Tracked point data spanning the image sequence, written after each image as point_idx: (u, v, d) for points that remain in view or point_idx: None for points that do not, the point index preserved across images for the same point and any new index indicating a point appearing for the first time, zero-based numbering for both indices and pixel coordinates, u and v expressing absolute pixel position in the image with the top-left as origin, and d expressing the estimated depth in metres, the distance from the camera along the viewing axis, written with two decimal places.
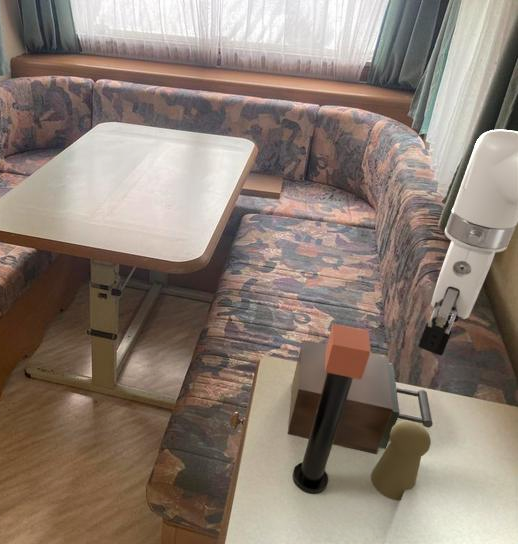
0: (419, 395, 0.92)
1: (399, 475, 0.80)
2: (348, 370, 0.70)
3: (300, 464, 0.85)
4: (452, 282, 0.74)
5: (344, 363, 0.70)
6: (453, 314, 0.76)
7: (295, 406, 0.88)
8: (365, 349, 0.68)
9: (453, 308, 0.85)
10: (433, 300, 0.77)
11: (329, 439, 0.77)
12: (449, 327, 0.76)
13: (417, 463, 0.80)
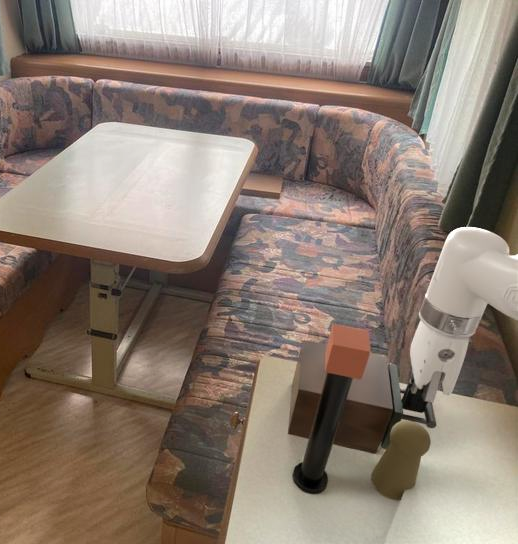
0: None
1: (399, 475, 0.80)
2: (348, 370, 0.70)
3: (300, 464, 0.85)
4: (438, 367, 0.80)
5: (344, 363, 0.70)
6: None
7: (295, 406, 0.88)
8: (365, 349, 0.68)
9: None
10: (420, 383, 0.82)
11: (329, 439, 0.77)
12: None
13: (417, 463, 0.80)
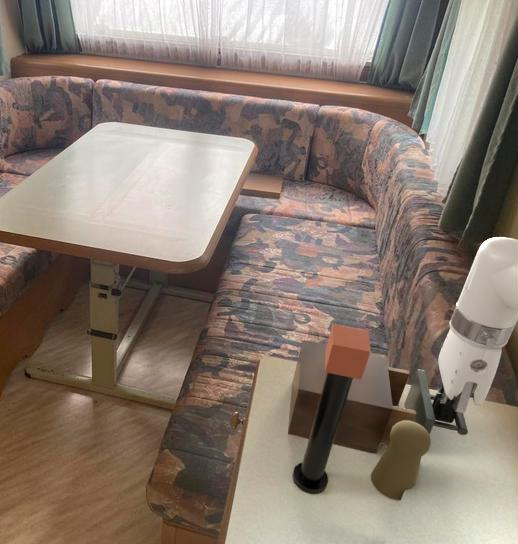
0: None
1: (399, 475, 0.80)
2: (348, 370, 0.70)
3: (300, 464, 0.85)
4: (470, 378, 0.79)
5: (344, 363, 0.70)
6: None
7: (295, 406, 0.88)
8: (365, 349, 0.68)
9: None
10: (451, 393, 0.82)
11: (329, 439, 0.77)
12: None
13: (417, 463, 0.80)
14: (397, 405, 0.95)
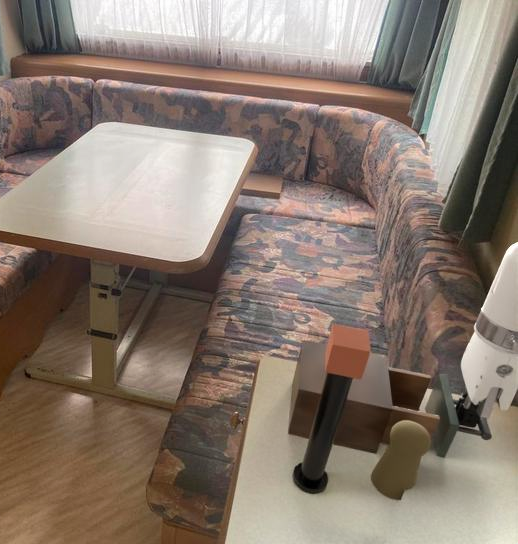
0: None
1: (399, 475, 0.80)
2: (348, 370, 0.70)
3: (300, 464, 0.85)
4: (496, 383, 0.79)
5: (344, 363, 0.70)
6: None
7: (295, 406, 0.88)
8: (365, 349, 0.68)
9: None
10: (476, 399, 0.81)
11: (329, 439, 0.77)
12: None
13: (417, 463, 0.80)
14: (418, 409, 0.95)
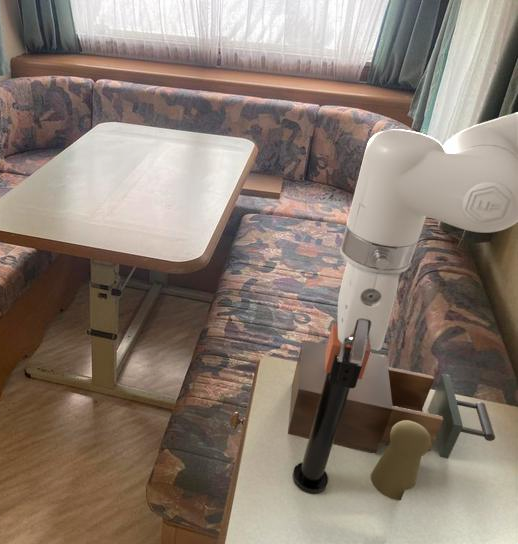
0: (478, 407, 0.90)
1: (399, 475, 0.80)
2: None
3: (300, 464, 0.85)
4: (362, 314, 0.63)
5: None
6: None
7: (295, 406, 0.88)
8: None
9: None
10: (342, 335, 0.65)
11: (329, 439, 0.77)
12: None
13: (417, 463, 0.80)
14: (421, 410, 0.95)
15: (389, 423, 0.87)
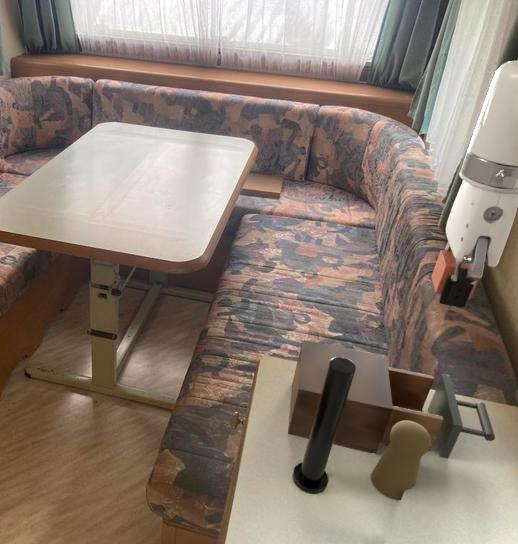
0: (478, 407, 0.90)
1: (399, 475, 0.80)
2: None
3: (300, 464, 0.85)
4: (483, 231, 0.69)
5: None
6: None
7: (295, 406, 0.88)
8: None
9: None
10: (461, 253, 0.71)
11: (329, 439, 0.77)
12: (475, 279, 0.73)
13: (417, 463, 0.80)
14: (421, 410, 0.95)
15: (389, 423, 0.87)
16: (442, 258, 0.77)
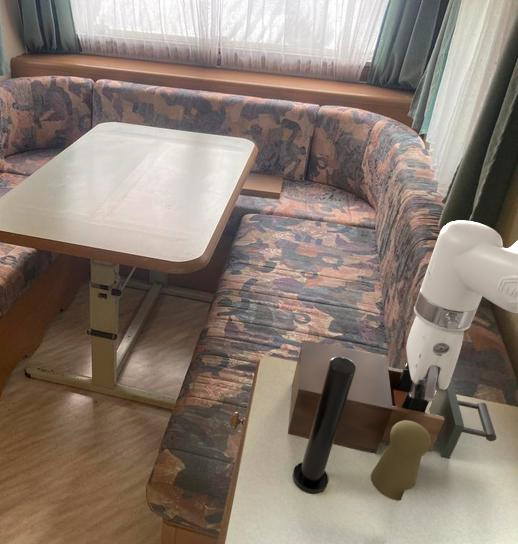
0: (479, 408, 0.90)
1: (399, 475, 0.80)
2: None
3: (300, 464, 0.85)
4: (433, 362, 0.80)
5: None
6: None
7: (295, 406, 0.88)
8: None
9: None
10: (416, 378, 0.82)
11: (329, 439, 0.77)
12: None
13: (417, 463, 0.80)
14: None
15: (390, 423, 0.87)
16: (393, 398, 0.91)
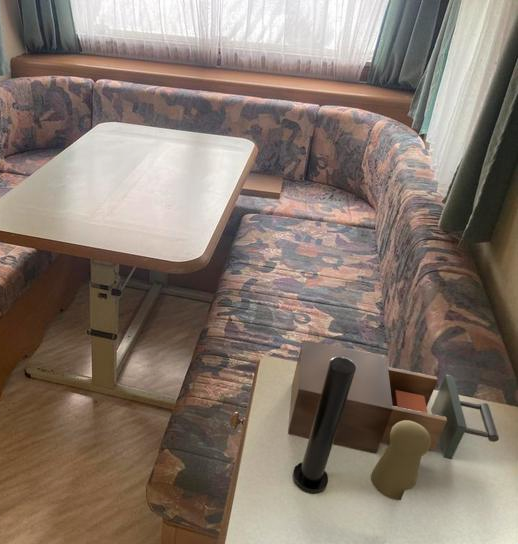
0: (481, 408, 0.90)
1: (399, 475, 0.80)
2: None
3: (300, 464, 0.85)
4: None
5: None
6: None
7: (295, 406, 0.88)
8: None
9: None
10: None
11: (329, 439, 0.77)
12: None
13: (417, 463, 0.80)
14: None
15: (393, 424, 0.87)
16: (396, 399, 0.91)
